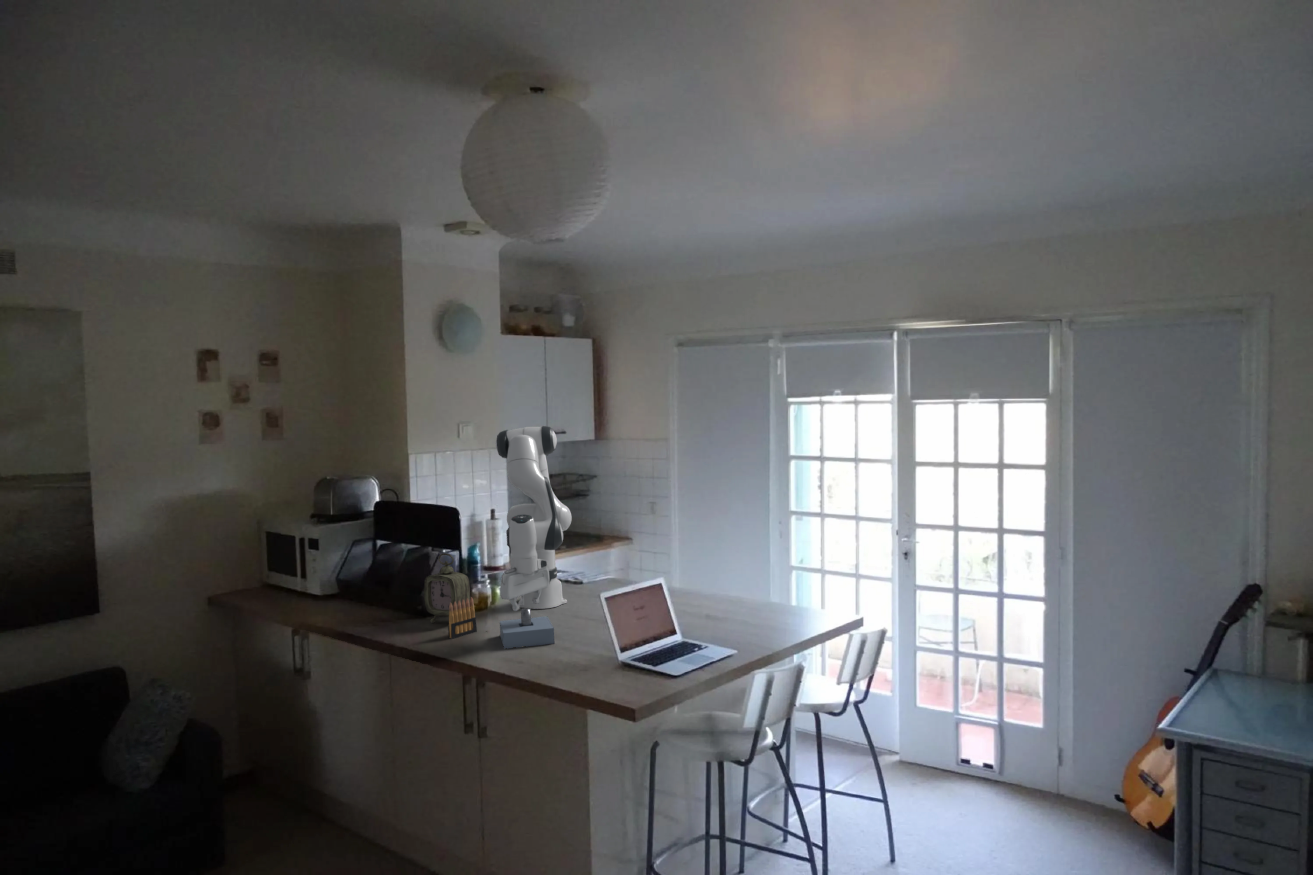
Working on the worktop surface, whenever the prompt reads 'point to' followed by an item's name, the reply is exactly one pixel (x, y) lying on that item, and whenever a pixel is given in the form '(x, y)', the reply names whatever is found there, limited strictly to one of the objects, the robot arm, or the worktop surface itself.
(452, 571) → the tabletop clock
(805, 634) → the worktop surface
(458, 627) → the ammunition clip
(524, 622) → the steel pin
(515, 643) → the bore block
